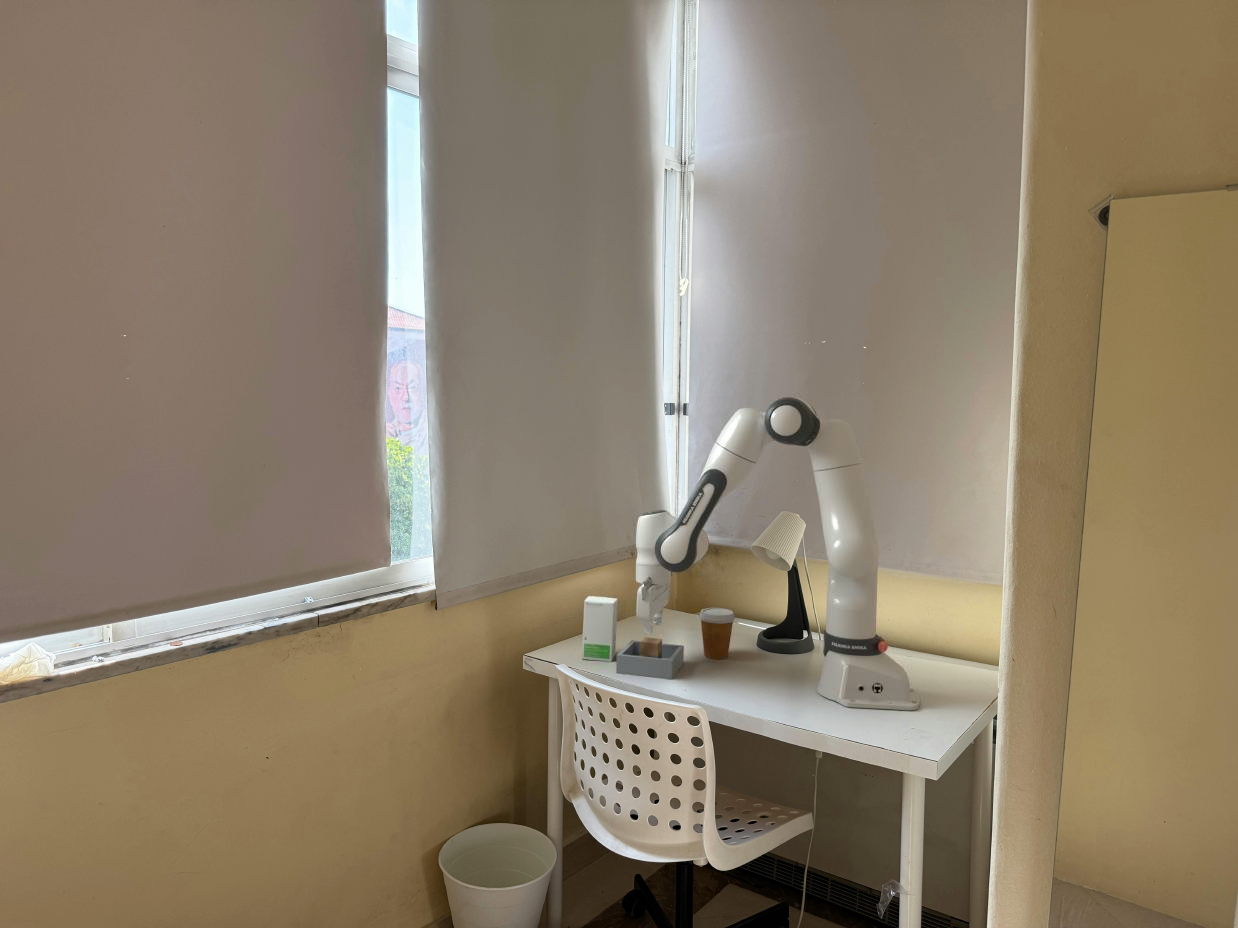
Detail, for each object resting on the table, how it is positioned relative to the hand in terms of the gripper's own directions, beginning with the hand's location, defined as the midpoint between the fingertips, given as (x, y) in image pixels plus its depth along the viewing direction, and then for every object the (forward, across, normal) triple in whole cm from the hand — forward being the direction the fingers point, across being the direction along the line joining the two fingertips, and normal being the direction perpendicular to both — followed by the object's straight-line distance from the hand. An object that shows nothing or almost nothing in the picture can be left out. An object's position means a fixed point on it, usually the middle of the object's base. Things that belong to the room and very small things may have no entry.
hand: (653, 628), depth 192 cm
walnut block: (+9, 0, +1) cm, 9 cm away
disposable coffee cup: (+10, +16, -13) cm, 23 cm away
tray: (+10, 0, +1) cm, 10 cm away
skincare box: (+10, +4, +16) cm, 19 cm away
